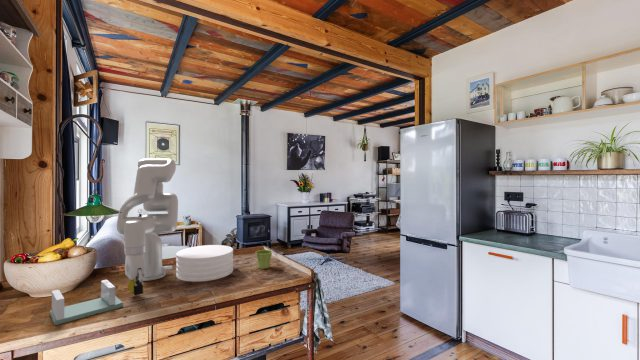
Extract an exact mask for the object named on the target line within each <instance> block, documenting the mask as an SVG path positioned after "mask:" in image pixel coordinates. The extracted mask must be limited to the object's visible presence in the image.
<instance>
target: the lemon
mask: <svg viewBox="0 0 640 360" xmlns="http://www.w3.org/2000/svg"><path fill="white" fill-rule="evenodd" d="M136 278H138V276H136ZM137 280H139V279H136V281H137ZM134 286H135V283H134V279H133V280H131V279H130V280H129V279H128V285H127V289H128V291H129V292H130V293H131V294H134Z"/></svg>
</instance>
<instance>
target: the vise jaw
mask: <svg viewBox="0 0 640 360" xmlns="http://www.w3.org/2000/svg"><path fill="white" fill-rule="evenodd" d="M115 296H116V286H115V285H114V284H112V282H110V281H109V280H108V279H103V280H100V298H103V300H104V301H105V302H106V303H107V304H108V305H109V306H110V305H113V304H115Z"/></svg>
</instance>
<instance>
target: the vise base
mask: <svg viewBox="0 0 640 360" xmlns="http://www.w3.org/2000/svg"><path fill="white" fill-rule="evenodd" d="M123 307H124V302H123V301H122V300H121V299H120V298H118V296H117V295H115V304H113V305H110V306H109V305H108V304H107V303H106V302H105V301H104V300H103V298H102V297H99V298H94V299H92V300H86V301H83V302H78V303H74V304H71V305H66V306H65V297H64V295H63V294H62V292H61V291H60V289H54V290H51V309H50V310H49V315H50V318H51V320H52V322H53V324H54V326H58V325H61V324H64V323H68V322H72V321H76V320H79V319H83V318H86V316H87V317H91V316H93V315H96V314H97V313H98V314H102V313H104V312H109V311H112V310H116V309H120V308H123ZM108 310H109V311H108ZM90 315H91V316H90Z"/></svg>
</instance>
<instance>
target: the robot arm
mask: <svg viewBox="0 0 640 360" xmlns="http://www.w3.org/2000/svg"><path fill="white" fill-rule="evenodd" d="M176 168H177V165H176V161H175V160H173V158H155V157H153V158H152V157H151V158H150V157H149V158H142V159H139V160H138V162H137V170H136V177H135V182H134V189H133V194H132V195H131V196H130V197H129V198H127V200H126V201H125V202H124V203H123V204H122V205H121V207H120V208H119V210H118V211H119V212H118V214H117V215H118V216H117V221H116V231H117V232H118V234H121V235H124V236H123V241H124V242H123V243H124V245H123V246H124V249H123V251H124V255H125V261H124V274H125V276H126V277H127V278H128V281H129V280H130V279H131V280H133V279H134V283H135V286H134V293H133V295H134V296H139V295H141V294H143V293H144V281H145V282H146V281H147V282H150V281H155V280H159V279H161V278H164V277H165V276H166V271H171V270H173V265H165V266H164V265H163V242H162V241H163V240H162V238H161V237H160V236H159V234H160V233H161V234H163V233H172V232H173V233H174V232H176V230H177V227H178V219H179V218H178V215H179V214H178V213H179V212H178V211H179V200H178V196H177V195H176V194H175V193H172V192H164V183H168V182H170V181H171V180H172V178H173V176H174V175H175V173H176V170H177V169H176ZM140 205H143V210H144V211H146V212H151V213H148V214H144V215H141V216H129V214H130V212H131V211H132V210H133V209H134V208H136V207H138V206H140ZM120 212H122V213H120ZM152 212H154V213H152ZM157 212H166V213H157ZM136 276H138V278H136ZM136 279H139V280H137V281H136Z"/></svg>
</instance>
